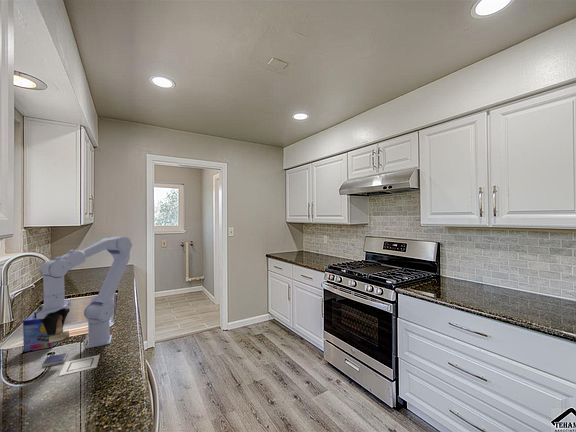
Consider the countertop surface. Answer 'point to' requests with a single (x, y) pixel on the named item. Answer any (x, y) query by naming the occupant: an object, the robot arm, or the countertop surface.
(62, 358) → the ink pad
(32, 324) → the ink cartridge box
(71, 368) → the paper
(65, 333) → the stamp
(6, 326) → the countertop surface
